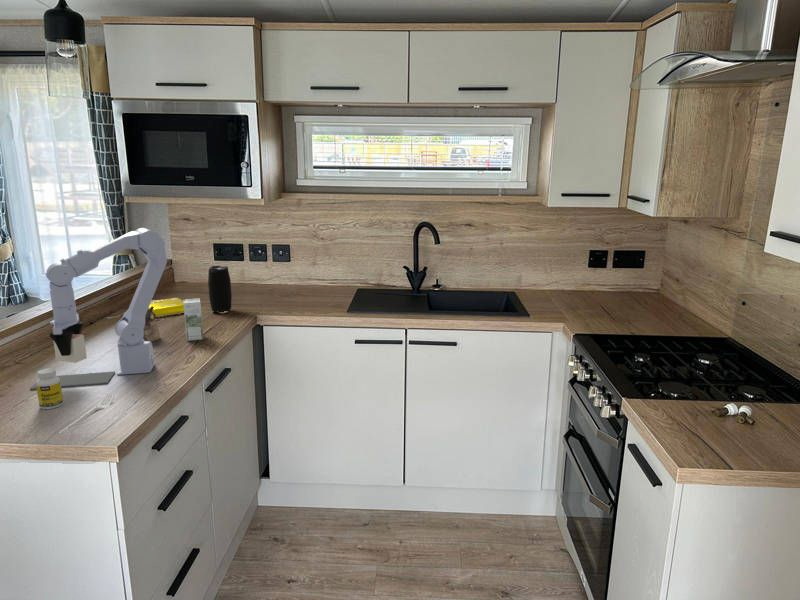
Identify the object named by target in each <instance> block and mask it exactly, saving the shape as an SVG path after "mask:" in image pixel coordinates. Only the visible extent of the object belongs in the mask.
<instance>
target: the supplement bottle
mask: <svg viewBox="0 0 800 600" xmlns="http://www.w3.org/2000/svg"><path fill="white" fill-rule="evenodd" d="M57 376H58V375H57V371H56V368H51V367H50V368H49V367H48V368H42V369H40V370H38V371H37V377H38V379H37V380H36V381H35V383H36V386H37V390H36V392H37V393H36V394H37V399H38V405H39V408H40V409H43V410H52V409H56V408H58V407H61V406H62V405H63V403H64V399H63V392H62V388H61V383H60V378H59V377H57Z"/></svg>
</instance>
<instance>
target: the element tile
mask: <svg viewBox="0 0 800 600" xmlns="http://www.w3.org/2000/svg"><path fill="white" fill-rule="evenodd" d="M151 306H152V307H154V309H153V310H152V311H153V312H154V313H155V315H156V316H158V315H165V314H171V313H178V312H184V301H183V299H181V298H179V297H172V298H164V299H157V300H156V299H154V300H153V299H152V300H151V303H150V305H149V308H148V309H150V308H151ZM152 316H153V315H152Z"/></svg>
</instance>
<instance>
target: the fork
mask: <svg viewBox="0 0 800 600" xmlns="http://www.w3.org/2000/svg"><path fill="white" fill-rule="evenodd" d="M112 396H113V397H112ZM115 397H116V394H114V395H113V394H110V393H109V394H106V395H105V396H104V398H103V399H101V401H100V402H99V403H98V404H97V405H98V406H100V405H101V406H102V407H96V406H93V407H92V408H91V409H89V410H88V411H87V412H85V413H84V414H82V415H81V416H80V417H78V418H77V419H75V420H74V421H73V422H71V423H70V424H68V425H67V426H66V427H64V428H63V429H62V430H60V431H59V432H58V433H61V432H62V433H63V431H64V430H65V431H67V430H68V429H67V428H69V427H70V428H72V427H73V426H75V425H77V424H78V423H80V422H81V421H83V420H84V418H85V419H87V416H88V417H89V416H91V415H92V414H94V413H95V412H96V411H98V410H103V408H104V409H106V408H107V407H109V406H110V405H112V403H113V401H114V399H115ZM104 406H105V407H104ZM79 421H80V422H79ZM76 423H77V424H76ZM74 424H75V425H74ZM72 425H73V426H72ZM71 426H72V427H71ZM70 428H69V429H70ZM66 429H67V430H66ZM65 431H64V432H65ZM62 433H61V434H62Z"/></svg>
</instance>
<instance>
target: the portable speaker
mask: <svg viewBox="0 0 800 600" xmlns="http://www.w3.org/2000/svg"><path fill="white" fill-rule="evenodd" d="M231 283H232V282H231V277H230V272H229V267H228V266H227V265H226V266H221V265H212V266H210V267H209V268H208V275H207V285H208V296H209V305H210V309H211V312H212V311H214V313H218V312H224V311H229V310H230V309H231V310H232V297H233V296H232V284H231ZM231 310H230V311H231ZM217 311H218V312H217ZM230 311H229V312H230Z"/></svg>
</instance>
